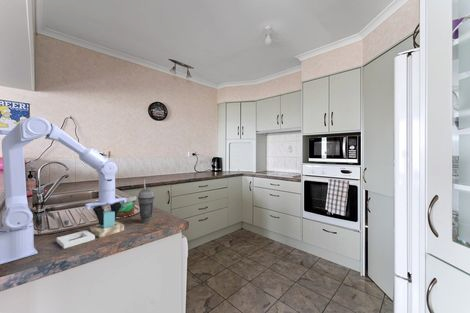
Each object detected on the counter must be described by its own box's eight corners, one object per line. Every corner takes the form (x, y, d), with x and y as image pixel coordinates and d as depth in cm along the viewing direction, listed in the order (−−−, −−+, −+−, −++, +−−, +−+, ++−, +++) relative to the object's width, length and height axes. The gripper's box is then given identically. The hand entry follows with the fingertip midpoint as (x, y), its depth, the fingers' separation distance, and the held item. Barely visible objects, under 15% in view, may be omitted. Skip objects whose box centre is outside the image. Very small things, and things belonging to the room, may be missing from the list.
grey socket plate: (64, 248, 67) (64, 244, 67) (56, 241, 72) (56, 237, 72) (94, 239, 74) (94, 235, 74) (86, 233, 79) (86, 230, 79)
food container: (106, 219, 97) (106, 199, 97) (111, 216, 103) (110, 196, 102) (134, 217, 100) (134, 197, 100) (137, 214, 106) (136, 195, 106)
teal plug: (104, 233, 79) (103, 213, 79) (99, 231, 81) (99, 212, 81) (114, 230, 82) (114, 211, 82) (110, 228, 84) (110, 210, 84)
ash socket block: (99, 237, 75) (99, 231, 75) (90, 232, 81) (90, 226, 81) (124, 230, 83) (124, 224, 83) (114, 226, 88) (114, 220, 88)
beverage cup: (146, 225, 89) (145, 180, 89) (134, 223, 92) (133, 180, 92) (157, 220, 96) (157, 178, 96) (146, 218, 98) (146, 178, 98)
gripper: (90, 194, 73) (90, 230, 73) (129, 188, 85) (130, 220, 85) (83, 192, 77) (83, 226, 77) (122, 187, 89) (122, 217, 89)
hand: (107, 223), depth 82 cm, fingers closed on teal plug, 4 cm apart
